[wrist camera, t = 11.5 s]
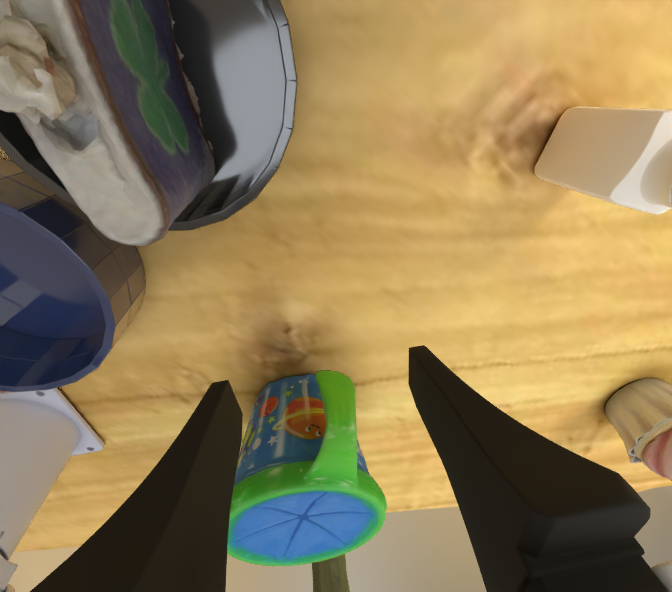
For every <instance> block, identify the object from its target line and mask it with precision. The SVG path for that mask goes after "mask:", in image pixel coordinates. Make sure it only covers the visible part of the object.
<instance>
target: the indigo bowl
mask: <svg viewBox="0 0 672 592" xmlns="http://www.w3.org/2000/svg"><path fill="white" fill-rule="evenodd" d="M144 292H145V274H144V268H143V265H142V261H141V258H140V256H139V253H138V251H137V248H136V247H135V246H131V245H125V244H120V243H118V242H116V241H113V240H110V239H109V238H107V237H106V236H105V235H103V234H102V233H101V232H100V231H99V230H98V229H97V228H96V227H95V226H94V225H93V223H92V222H91V220H90V219H89V217H88V216H87V215H86V214H85V213H84V212H83V211H82V210H81V209H80V208H79V207H77V206H75V205H73V204H70V203H68V202H66V201H65V200H63V199H62V198H60V197H59V196H57V195H56V194H55V193H53V192H52V191H51V190H49V189H48V188H46V187H45V186H44V185H42V184H41V183H40V182H38V181H37V180H36V179H34V178H33V177H31V176H30V175H29V174H27V173H26V172H25V171H23V170H22V169H21V168H20V167H18V165H17V164H16V163H15V162H14V161H11V160H5V159H0V391H8V392H27V391H40V390H50V389H53V388H57V387H60V386H64V385H67V384H70V383H74V382H76V381H78V380H80V379H81V378H83V377H85V376H86V375H88V374H89V373H91V372H92V371H94V370H96V369H97V368H98V367H99V366H100V364H101V363H102V362H103V360H104V359H105V357H106V356H107V355H108V353H109V352H110V351H111V349H112V348H113V346H114V345H115V343H116V342H117V340H118V339H119V338H120V336H121V335H122V333H123V332H124V330H125V329H126V327H127V326H128V325H129V323H130V322H131V320H132V319H133V317H134V316H135V314H136V313H137V312H138V310H139V309H140V306H141V303H142V300H143V296H144Z"/></svg>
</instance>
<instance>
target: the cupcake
mask: <svg viewBox="0 0 672 592" xmlns="http://www.w3.org/2000/svg"><path fill="white" fill-rule="evenodd" d="M605 412H606V416H607V417H608V419H609V420H610V422H611V423H612V425H613V426H614V428H615V429H616V430H617V432H618V434H619V435H620V437H621V438H622V440H623V442H624V444H625V447H626V450H627V453H628V456H629V459H630V462H631V463H637V462H643V463H644V465H646V466H647V467H648V468H649V469H650V470H652V471H653V472H655V473H656V474H658V475H660V476H662V477H666V478H668V479H670V480H671V481H672V385H670V384H668V383H666V382H664V381H662V380H660V379H655V378H646V379H641V380H638V381H635V382H633V383H630V384H628V385H627V386H625V387H623V388H622V389H620V390H619V391H617V392H616V393H615V394H614V395H613V396H612V397H611V398H610V399H609V401H608V402H607V404H606V406H605Z"/></svg>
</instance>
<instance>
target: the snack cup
mask: <svg viewBox="0 0 672 592" xmlns="http://www.w3.org/2000/svg"><path fill="white" fill-rule="evenodd" d="M386 509H387V503H386V499H385V496H384V494H383V492H382V490H381V488H380V487H379V486H378V484H377V483H376V481H375V480H374V479H373V478H372V477H371V476H370V474H369V472H368V469H367V466H366V462H365V459H364V456H363V454H362V451H361V449H360V446H359V442H358V440H357V426H356V415H355V387H354V384H353V382H352V380H351V379H350V378H349V377H348V376H346V375H344V374H342V373H339V372H336V371H330V370H322V371H318V372H317V373H316V375H313V374H308V375H307V374H306V375H305V376H303V375H302V376H291V377H287V378H282V379H280V380H278V381H276V382H270V383H269V384H268V385H266V386H265V387H264V389H263V391H262V392H261V393H260V394H259V395H258V397H257V399H256V401H255V404H254V407H253V409H252V413H251V416H250V420H249V423H248V427H247V430H246V434H245V437H244V440H243V444H242V447H241V451H240V454H239V458H238V465H237V470H236V476H235V482H234V488H233V494H232V500H231V508H230V518H229V532H228V546H227V554H229V555H230V556H232V557H234V558H236V559H239V560H242V561H245V562H248V563H253V564H258V565H267V566H291V565H301V564H307V563H313V562H319V561H323V560H327V559H330V558H334V557H337V556H340V555H342V554H345V553H347V552H350V551H352V550H354V549H356V548H358V547H360V546H361V545H363V544H365V543H366V542H367V541H369V540H370V539H371V538H373V537H374V536H375V534H377V533H378V531H379V530H380V529H381V527H382V526H383V523H384V520H385V512H386Z"/></svg>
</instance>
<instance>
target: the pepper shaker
mask: <svg viewBox="0 0 672 592" xmlns="http://www.w3.org/2000/svg"><path fill="white" fill-rule="evenodd" d="M534 173H535V174H536V175H537V177H538V178H539V179H541V180H544V181H547V182H550V183H553V184H556V185H559V186H562V187H565V188H568V189H571V190H574V191H577V192H580V193H583V194H586V195H589V196H592V197H595V198H598V199H602V200H605V201H608V202H611V203H614V204H617V205H621V206H625V207H628V208H632V209H636V210H639V211H643V212H647V213H651V214H655V215H659V214H661V213H664V212H666V211H667V210H669V209H671V208H672V109H645V108H617V107H588V106H577V107H572V108H569V109H567V110H566V111H565V112H564V113H563V114H562V116H561V117H560V119H559V121H558V123H557V125H556V127H555V129H554V131H553V133H552V135H551V137H550V139H549V140H548V142H547V144H546V146H545V148H544V150H543V152H542V154H541V156H540V158H539V160H538V162H537V164H536V166H535V170H534Z"/></svg>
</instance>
